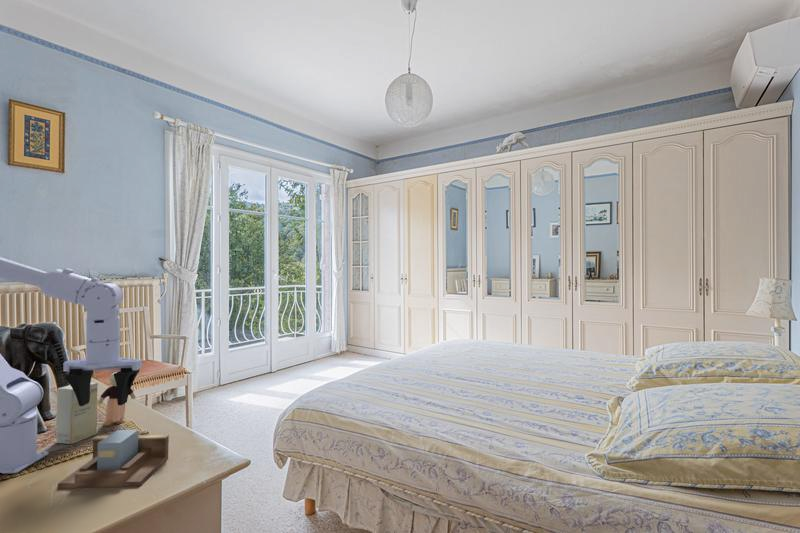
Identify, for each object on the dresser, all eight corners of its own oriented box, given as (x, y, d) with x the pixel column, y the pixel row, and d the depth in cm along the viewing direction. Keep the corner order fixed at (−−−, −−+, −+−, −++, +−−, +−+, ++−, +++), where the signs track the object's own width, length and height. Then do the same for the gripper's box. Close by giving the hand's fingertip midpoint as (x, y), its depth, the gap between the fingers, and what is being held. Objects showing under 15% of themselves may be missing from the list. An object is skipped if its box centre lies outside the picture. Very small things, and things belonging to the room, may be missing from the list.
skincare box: (71, 445, 88) (72, 390, 88) (54, 443, 89) (55, 388, 89) (97, 433, 95) (98, 382, 95) (82, 431, 96) (83, 380, 95)
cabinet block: (94, 477, 74) (94, 445, 74) (116, 459, 81) (117, 429, 81) (117, 477, 74) (117, 444, 74) (137, 459, 81) (138, 429, 81)
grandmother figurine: (98, 428, 97) (99, 376, 97) (97, 423, 100) (97, 372, 100) (136, 420, 103) (137, 371, 103) (133, 416, 106) (134, 368, 105)
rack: (57, 488, 72) (58, 460, 72) (96, 459, 82) (97, 435, 82) (140, 486, 73) (140, 459, 73) (168, 458, 83) (168, 434, 83)
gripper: (51, 344, 80) (51, 411, 80) (128, 343, 82) (128, 410, 82) (77, 337, 87) (77, 399, 87) (147, 336, 89) (147, 398, 89)
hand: (103, 404), depth 85 cm, fingers open, 7 cm apart
